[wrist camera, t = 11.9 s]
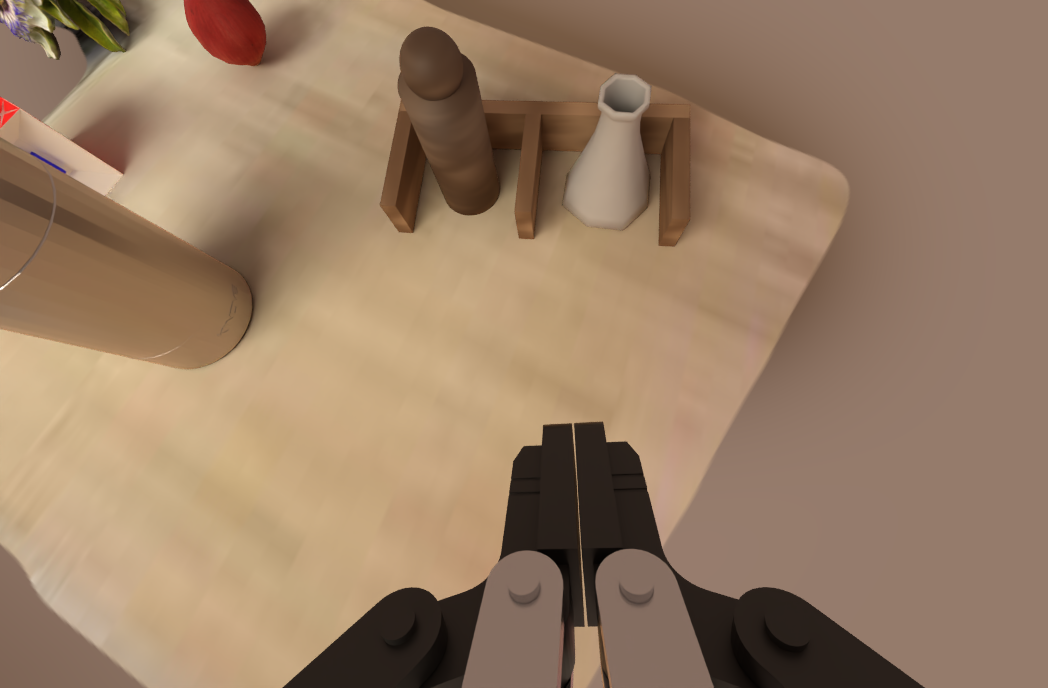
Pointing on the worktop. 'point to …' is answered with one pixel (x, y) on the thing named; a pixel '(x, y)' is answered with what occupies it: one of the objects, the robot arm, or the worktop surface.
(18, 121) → the red patterned cube
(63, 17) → the green leafy plant
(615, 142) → the flask
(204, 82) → the worktop surface
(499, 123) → the rack
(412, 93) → the pepper mill
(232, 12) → the onion
